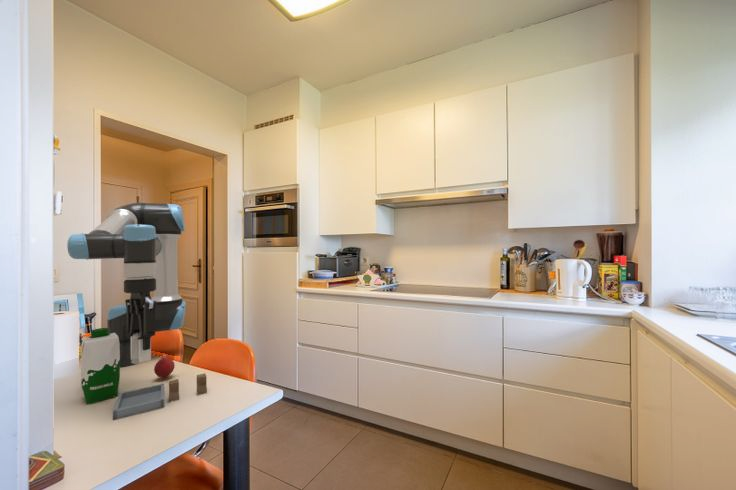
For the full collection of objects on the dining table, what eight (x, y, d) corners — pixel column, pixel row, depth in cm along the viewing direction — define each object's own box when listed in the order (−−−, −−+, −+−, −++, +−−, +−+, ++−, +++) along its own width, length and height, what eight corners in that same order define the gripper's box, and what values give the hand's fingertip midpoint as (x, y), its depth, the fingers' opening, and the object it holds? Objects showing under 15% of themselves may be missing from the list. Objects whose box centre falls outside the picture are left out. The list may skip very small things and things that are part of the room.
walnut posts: (169, 397, 91) (168, 380, 91) (205, 389, 96) (205, 373, 96) (169, 401, 88) (169, 384, 88) (206, 392, 94) (206, 376, 94)
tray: (119, 400, 90) (119, 393, 90) (164, 390, 96) (164, 383, 96) (113, 420, 79) (112, 411, 79) (164, 407, 85) (164, 399, 85)
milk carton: (117, 387, 99) (117, 325, 99) (121, 396, 93) (121, 330, 93) (80, 397, 93) (79, 331, 93) (82, 407, 86) (82, 336, 87)
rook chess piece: (154, 357, 90) (151, 330, 90) (142, 363, 86) (140, 335, 86) (138, 359, 90) (136, 332, 90) (126, 365, 86) (124, 336, 86)
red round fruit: (167, 381, 103) (166, 357, 103) (150, 382, 103) (149, 358, 103) (178, 374, 108) (177, 352, 109) (162, 375, 109) (161, 352, 109)
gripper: (169, 277, 87) (170, 360, 86) (141, 276, 96) (141, 351, 96) (139, 280, 81) (139, 369, 80) (111, 278, 90) (112, 358, 89)
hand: (140, 359), depth 88 cm, fingers closed on rook chess piece, 4 cm apart
